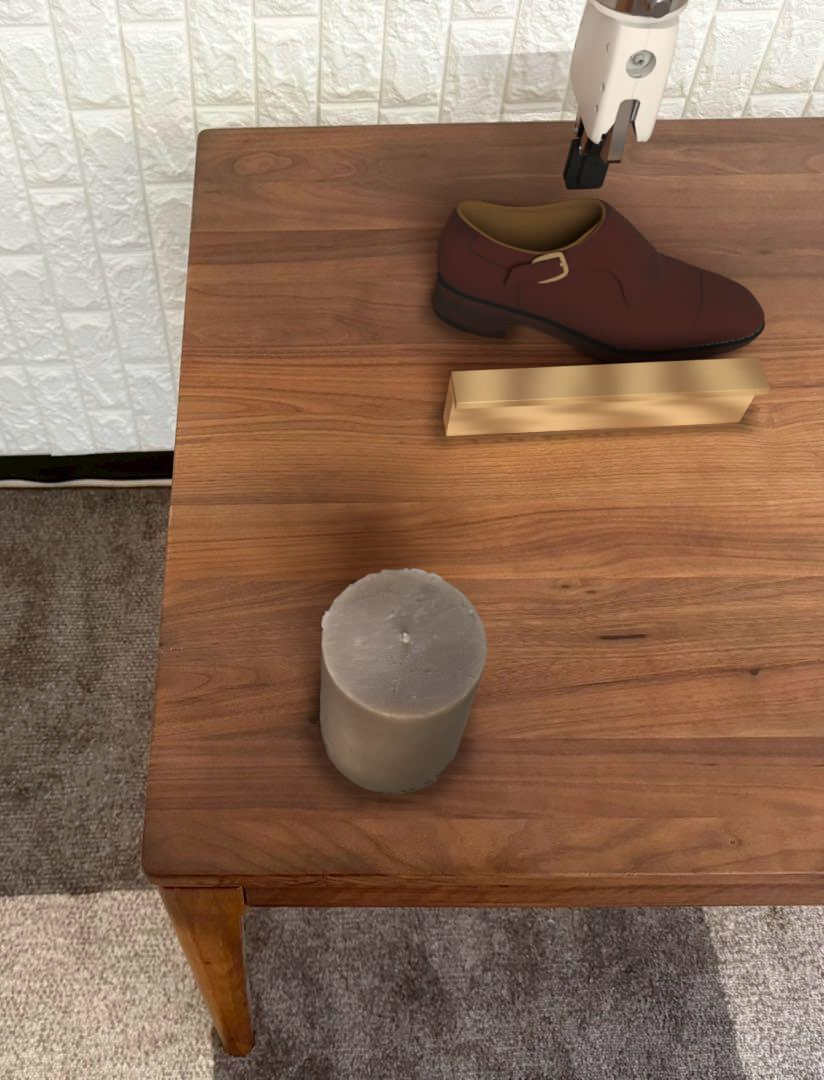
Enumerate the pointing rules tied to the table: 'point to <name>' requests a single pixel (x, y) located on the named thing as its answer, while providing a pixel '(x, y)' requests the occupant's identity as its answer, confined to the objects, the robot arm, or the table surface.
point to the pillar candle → (398, 678)
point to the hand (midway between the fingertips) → (581, 182)
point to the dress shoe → (585, 284)
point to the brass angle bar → (602, 396)
